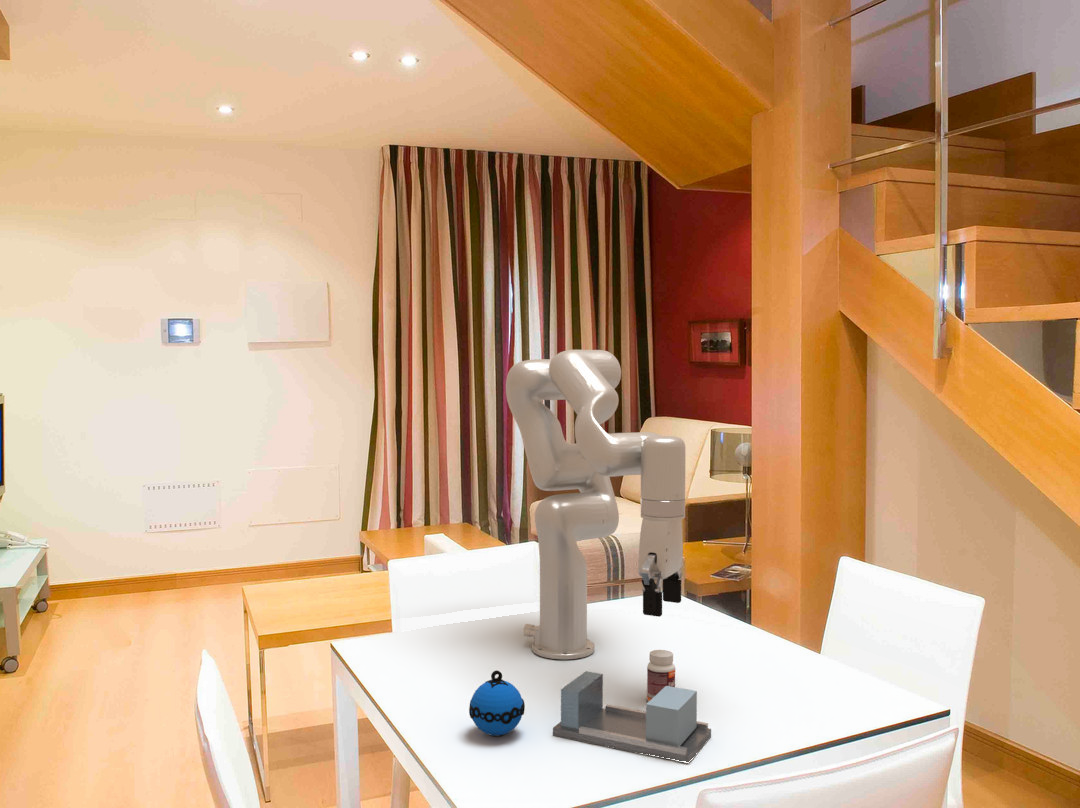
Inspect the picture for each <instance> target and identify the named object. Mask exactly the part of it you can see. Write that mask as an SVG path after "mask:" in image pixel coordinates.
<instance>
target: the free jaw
mask: <svg viewBox="0 0 1080 808" xmlns="http://www.w3.org/2000/svg"><path fill="white" fill-rule="evenodd" d="M697 693H698V692H697V690H693V689H687V688H681V687H676V686H675V687H671V686H665V687H664V688H663V689H662V690H661V691H660V692H659V693H658V694H657V695H656V696H655V697H653V698H652V699H651V700H650V701H649V702H648V701H647V703H646V704H645V709H646V710H645V712H646V740H651V741H656V742H661V743H666V744H671V745H676V746H681V744H682V743H683V742H684V741H685V740H686V739H687V738H688V736H689V735H690V734H691V733H692V732H693V731H694V730H695V728H696V727H697V720H698V719H697V716H698V715H697V714H698V713H697V712H698V711H697V710H698V709H697V706H698V701H697V699H698V695H697Z"/></svg>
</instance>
